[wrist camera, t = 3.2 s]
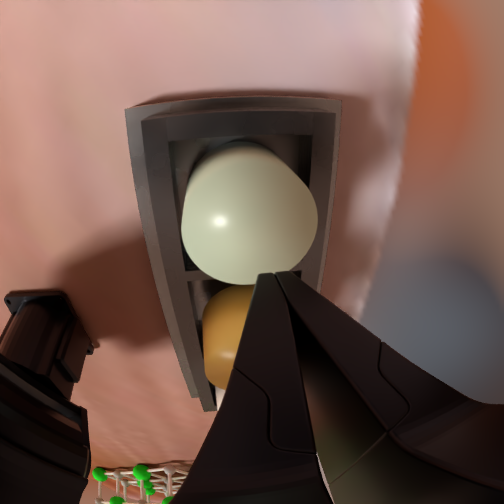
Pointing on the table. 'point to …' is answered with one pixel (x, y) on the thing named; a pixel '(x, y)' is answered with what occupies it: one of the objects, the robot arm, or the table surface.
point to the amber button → (224, 331)
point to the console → (175, 183)
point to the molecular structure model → (140, 483)
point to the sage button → (246, 214)
